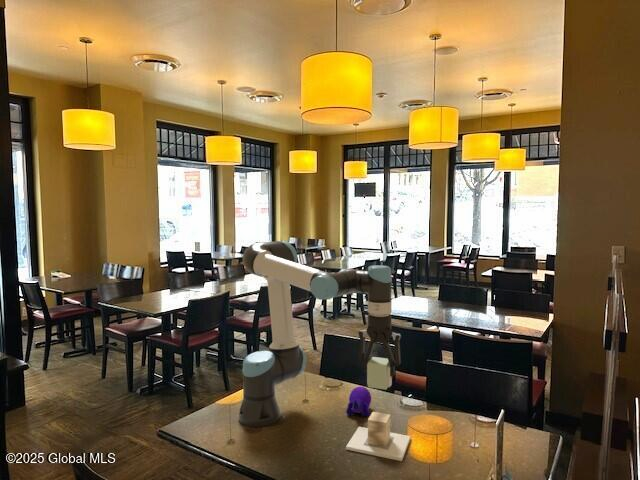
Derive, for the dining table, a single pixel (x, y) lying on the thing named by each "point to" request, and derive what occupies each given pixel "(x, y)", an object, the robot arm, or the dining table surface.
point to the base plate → (391, 451)
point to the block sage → (378, 373)
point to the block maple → (379, 429)
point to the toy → (359, 401)
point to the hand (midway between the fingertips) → (379, 383)
